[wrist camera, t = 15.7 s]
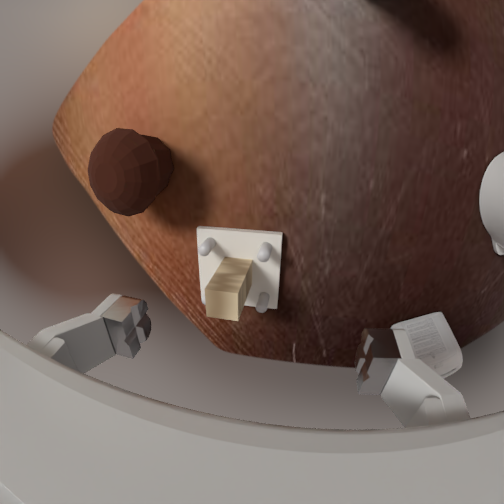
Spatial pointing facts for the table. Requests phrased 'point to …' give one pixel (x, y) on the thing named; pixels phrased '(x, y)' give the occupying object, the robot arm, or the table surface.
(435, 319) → the photo printer
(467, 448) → the robot arm
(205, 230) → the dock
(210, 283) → the block
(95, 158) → the muffin
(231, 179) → the table surface
